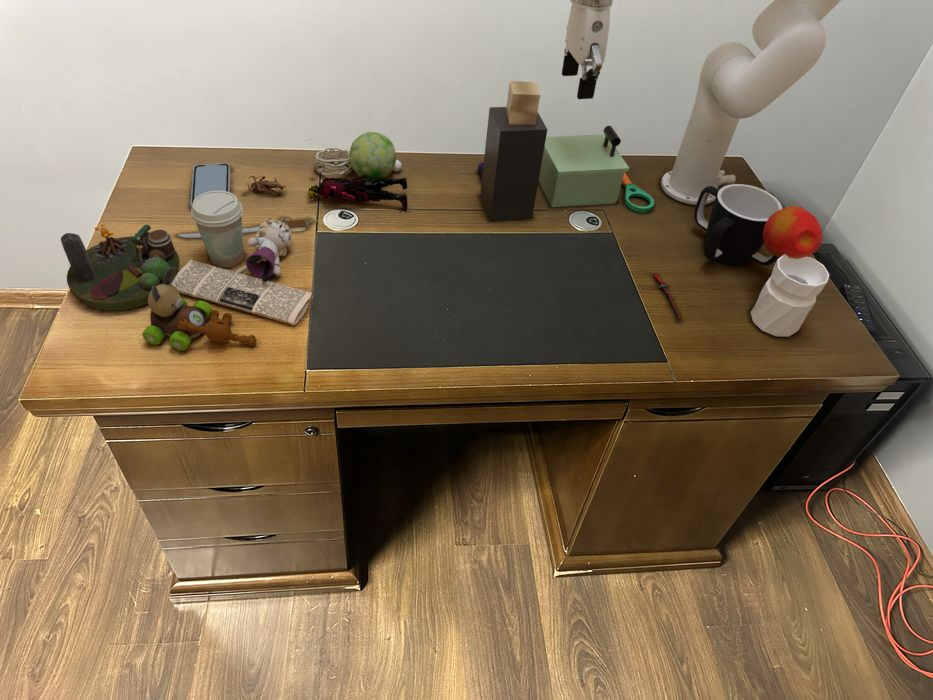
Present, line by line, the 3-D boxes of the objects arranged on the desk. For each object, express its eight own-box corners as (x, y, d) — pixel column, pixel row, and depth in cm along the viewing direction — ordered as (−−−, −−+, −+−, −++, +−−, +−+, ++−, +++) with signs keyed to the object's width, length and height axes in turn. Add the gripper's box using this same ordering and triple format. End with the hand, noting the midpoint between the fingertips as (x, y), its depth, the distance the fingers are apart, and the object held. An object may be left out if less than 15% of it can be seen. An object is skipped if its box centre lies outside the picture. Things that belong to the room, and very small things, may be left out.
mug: (773, 284, 132) (799, 233, 124) (689, 269, 134) (709, 218, 125) (763, 234, 144) (787, 185, 135) (686, 221, 145) (705, 171, 136)
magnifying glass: (657, 211, 147) (659, 205, 146) (631, 214, 146) (633, 207, 144) (629, 173, 157) (631, 166, 156) (604, 174, 155) (606, 168, 154)
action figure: (407, 188, 148) (313, 188, 147) (406, 161, 145) (310, 161, 143) (407, 219, 137) (305, 220, 135) (406, 191, 133) (301, 192, 132)
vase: (759, 336, 122) (787, 285, 113) (744, 303, 128) (769, 252, 119) (806, 337, 123) (838, 287, 114) (789, 304, 129) (817, 253, 120)
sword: (178, 247, 127) (176, 231, 130) (178, 248, 127) (177, 232, 130) (313, 228, 134) (309, 214, 137) (314, 229, 134) (309, 215, 137)
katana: (661, 271, 131) (660, 274, 132) (653, 272, 131) (652, 274, 132) (684, 320, 123) (682, 322, 124) (675, 320, 123) (674, 322, 124)
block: (531, 112, 131) (536, 81, 127) (535, 125, 128) (540, 94, 124) (505, 111, 131) (509, 80, 127) (508, 124, 127) (512, 93, 123)
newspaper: (293, 320, 114) (294, 328, 115) (312, 292, 119) (313, 299, 120) (166, 285, 118) (169, 292, 119) (189, 259, 122) (192, 266, 123)
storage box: (595, 169, 157) (602, 137, 151) (616, 203, 148) (624, 171, 142) (534, 172, 154) (539, 140, 148) (551, 207, 145) (557, 175, 139)
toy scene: (76, 253, 124) (54, 204, 116) (181, 241, 128) (167, 192, 121) (66, 321, 112) (42, 271, 105) (183, 305, 117) (167, 255, 109)
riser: (520, 193, 148) (534, 105, 133) (532, 218, 142) (547, 129, 127) (480, 196, 146) (489, 107, 132) (489, 221, 140) (500, 131, 126)
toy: (253, 247, 114) (277, 203, 125) (206, 269, 117) (234, 225, 129) (284, 285, 118) (305, 239, 130) (238, 306, 122) (263, 260, 133)
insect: (280, 168, 137) (293, 181, 141) (243, 169, 139) (257, 182, 144) (275, 188, 135) (288, 201, 140) (238, 189, 138) (252, 201, 143)
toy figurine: (260, 315, 115) (258, 336, 110) (254, 333, 117) (252, 355, 111) (185, 296, 111) (179, 318, 105) (180, 315, 112) (174, 337, 107)
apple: (830, 205, 113) (800, 196, 125) (774, 222, 115) (750, 211, 126) (838, 258, 116) (808, 244, 128) (784, 274, 118) (759, 259, 129)
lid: (606, 137, 151) (611, 115, 148) (628, 171, 142) (635, 148, 139) (539, 140, 148) (543, 117, 145) (557, 175, 139) (562, 151, 136)
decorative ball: (359, 115, 141) (376, 137, 150) (332, 155, 141) (351, 175, 150) (396, 136, 138) (411, 157, 148) (369, 178, 138) (386, 196, 148)
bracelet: (314, 163, 150) (350, 161, 152) (318, 179, 144) (356, 177, 146) (312, 145, 148) (350, 144, 150) (317, 161, 142) (355, 159, 144)
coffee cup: (209, 277, 122) (195, 221, 114) (198, 249, 127) (183, 194, 119) (257, 265, 125) (247, 210, 117) (244, 238, 130) (233, 184, 122)
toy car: (192, 354, 109) (175, 302, 101) (140, 342, 110) (120, 290, 102) (218, 315, 116) (205, 264, 108) (169, 305, 116) (152, 253, 108)
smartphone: (189, 207, 135) (193, 164, 144) (190, 210, 135) (194, 168, 145) (229, 204, 136) (229, 162, 146) (229, 208, 137) (230, 166, 146)
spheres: (365, 142, 158) (356, 143, 156) (366, 132, 156) (357, 133, 155) (402, 173, 150) (393, 174, 149) (404, 162, 149) (395, 163, 147)
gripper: (629, 12, 118) (610, 106, 130) (596, -24, 129) (581, 66, 141) (588, 13, 116) (572, 108, 129) (558, -23, 128) (546, 67, 140)
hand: (576, 86), depth 135 cm, fingers open, 9 cm apart
